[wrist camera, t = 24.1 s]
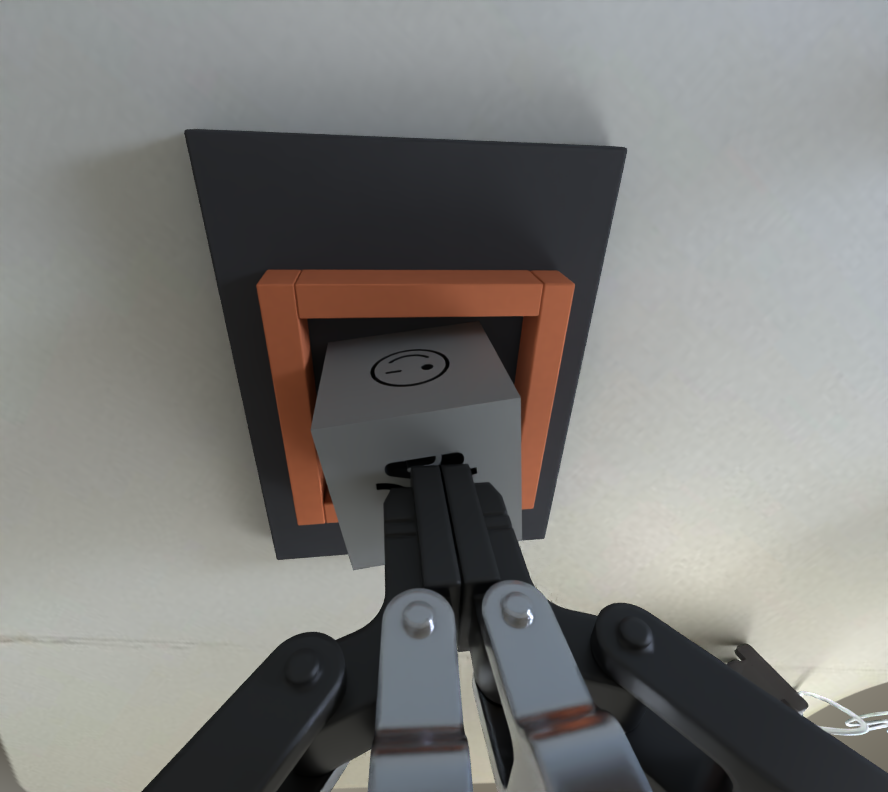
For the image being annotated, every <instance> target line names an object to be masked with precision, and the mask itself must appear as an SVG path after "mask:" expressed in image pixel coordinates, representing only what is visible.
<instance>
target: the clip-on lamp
mask: <svg viewBox="0 0 888 792" xmlns="http://www.w3.org/2000/svg"><path fill="white" fill-rule="evenodd" d="M735 654H736V655H737V656H738V657H739V658H740V659H741V660H742V661H739V660H733V661H731V662H728V663H727V665H728V666H729V667H731V668H732V669H734V670H735V671H737V672H738V673H740V674H741V675H743V676H744V677H746V678H747V679H749V680H750V681H752V682H753V683H755V684H756V685H758V686H759V687H761V688H762V689H764V690H765V691H766V692H768V693H769V694H771V695H772V696H774V697H775V698H777V699H778V700H780V701H781V702H783V703H784V704H786V705H787V706H789V707H790V708H792V709H793V710H795V711H796V712H798V713H799V714H801V715H802V716H803V712H804V711H805V710H806V709H807V708H808V703H807V702H806V701H805V700H804V699H803V698H802V697H801V696H802V695H808V696H813V697H815V698H818V699H820V700H823V701H825V702H827V703H829V704H831V705H833V706H835V707H837V708H839V709H840V710H842V711H844V712H845V713H847V714H848V715H850V716H851V717H853V718H854V719H855V720H857V721H858V722H859V723H860V727H859V728H855V729H841V728H831V727H821V726H818V727H820V728H821V729H823V730H824V731H826V732H827V733H829V734H837V735H861V734H864V733H867V732H868V728H869V726H868V725H867V724H866V723H865V722H864V721H863V720H862V718H860V717H859V716H857V715H856V714H855V713H853V712H852V711H850V710H849V709H847V708H845V707H843V706H842V705H840V704H838V703H836V702H834V701H832V700H830V699H828V698H825V697H823V696H820V695H818V694H815V693H810V692H805V691H800V692H798V693H797V692H796V691H795V690H794V689H793V688H792V687H791V686H790V685H789V684H788V683H787V682H786V681H785V680H784V679H783V678H782V677H781V676H780V675H779V674H778V673H777V672H776V671H775V670H774V669H773V668H772V667H771V666H770V665H769V664H768V663H767V662H766V661H765V660H764V659H763V658H762V657H761V656H760V655H759V654H758V653H757V652H756V651H755V650H754V649H753V648H752V647H751V646H750V645H748V644H743V645H740V646H738V647H737V648H736V650H735Z"/></svg>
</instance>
